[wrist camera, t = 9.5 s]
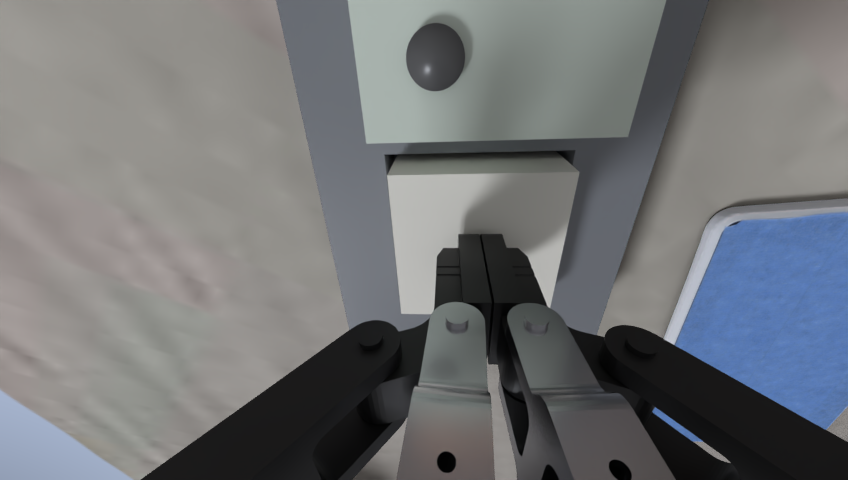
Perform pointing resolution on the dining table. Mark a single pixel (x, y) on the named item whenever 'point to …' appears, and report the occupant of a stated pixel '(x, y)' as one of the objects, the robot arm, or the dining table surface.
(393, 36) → the key two pips
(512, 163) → the key one pip
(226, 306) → the dining table surface
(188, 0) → the dining table surface
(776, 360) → the blue flat rectangular panel
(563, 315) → the keypad board
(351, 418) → the robot arm
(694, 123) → the dining table surface
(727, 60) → the dining table surface
